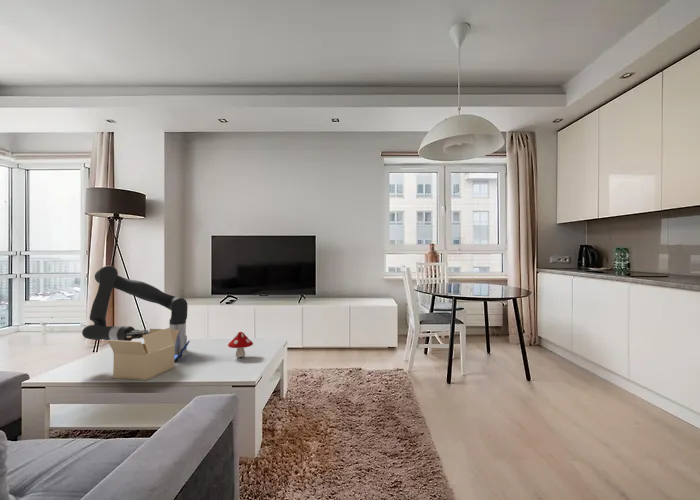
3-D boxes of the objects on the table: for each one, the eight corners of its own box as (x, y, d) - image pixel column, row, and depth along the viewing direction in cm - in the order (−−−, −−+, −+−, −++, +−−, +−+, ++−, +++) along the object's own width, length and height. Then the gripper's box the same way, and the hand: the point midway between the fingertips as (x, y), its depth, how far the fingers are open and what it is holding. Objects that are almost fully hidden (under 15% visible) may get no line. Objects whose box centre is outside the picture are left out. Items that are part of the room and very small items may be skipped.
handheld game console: (165, 356, 212) (165, 341, 213) (190, 355, 215) (190, 339, 216) (158, 364, 197) (158, 347, 197) (184, 362, 200) (184, 346, 200)
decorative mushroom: (222, 360, 205) (222, 333, 205) (235, 353, 218) (235, 328, 219) (244, 361, 202) (245, 334, 202) (256, 355, 215) (257, 329, 215)
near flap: (168, 328, 191) (169, 327, 191) (173, 344, 190) (174, 344, 190) (142, 335, 172) (143, 335, 172) (148, 353, 172) (148, 353, 172)
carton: (148, 363, 198) (149, 328, 198) (179, 365, 195) (179, 329, 195) (105, 380, 170) (105, 340, 170) (140, 383, 167) (140, 341, 167)
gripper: (111, 328, 179) (142, 329, 176) (132, 324, 192) (161, 325, 189) (111, 344, 178) (142, 345, 175) (131, 338, 191) (161, 339, 188)
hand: (152, 334), depth 182 cm, fingers closed
